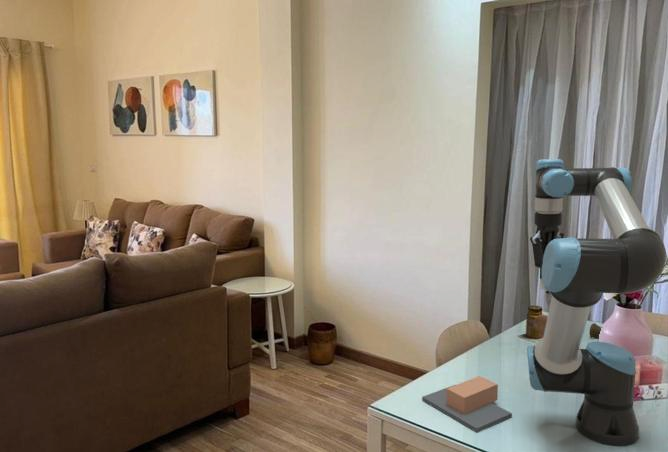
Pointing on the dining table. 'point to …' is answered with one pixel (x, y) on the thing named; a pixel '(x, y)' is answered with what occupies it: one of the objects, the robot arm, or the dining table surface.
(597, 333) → the kendama
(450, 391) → the tall block
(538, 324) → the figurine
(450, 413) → the rubber mat
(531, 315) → the condiment
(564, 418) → the dining table surface
